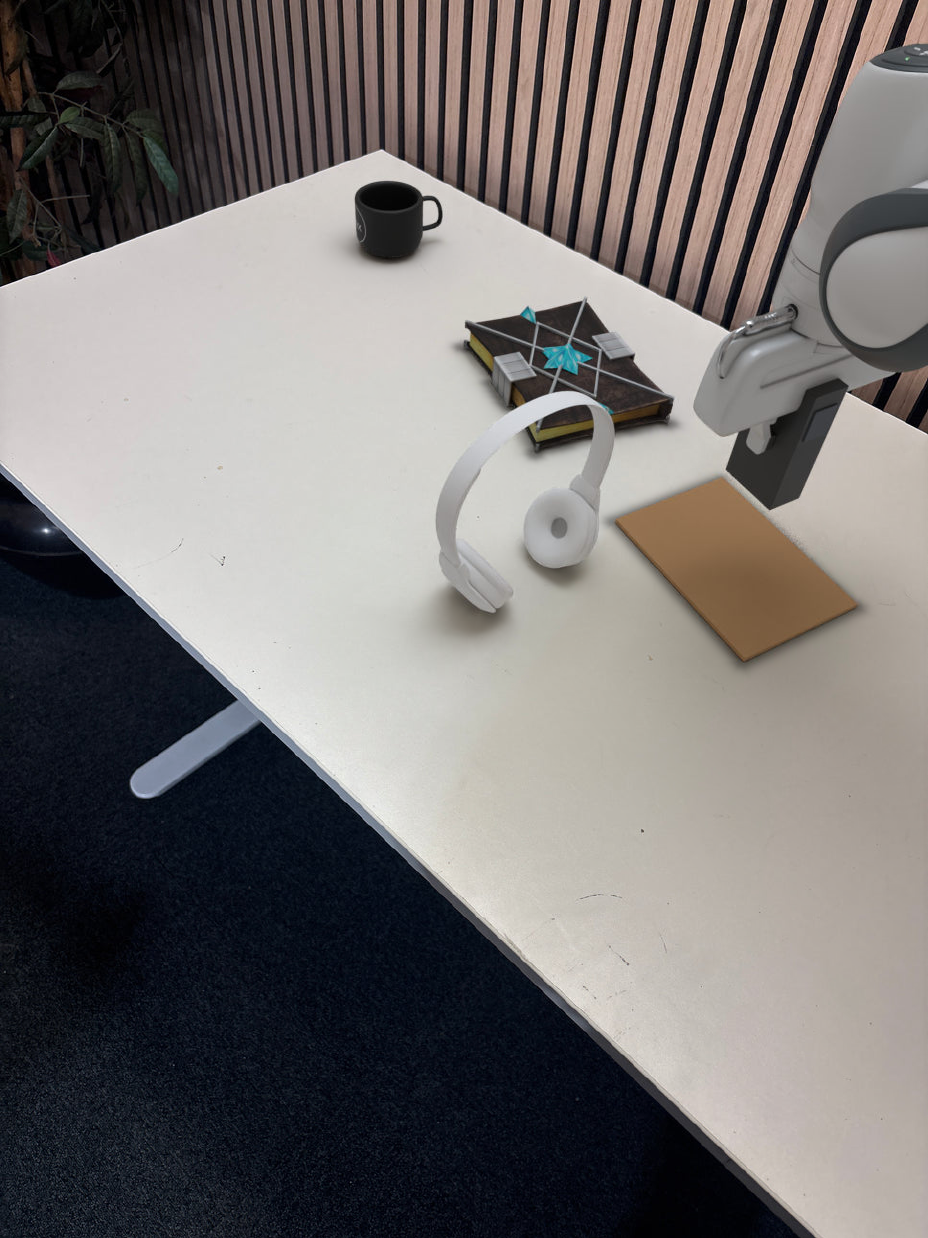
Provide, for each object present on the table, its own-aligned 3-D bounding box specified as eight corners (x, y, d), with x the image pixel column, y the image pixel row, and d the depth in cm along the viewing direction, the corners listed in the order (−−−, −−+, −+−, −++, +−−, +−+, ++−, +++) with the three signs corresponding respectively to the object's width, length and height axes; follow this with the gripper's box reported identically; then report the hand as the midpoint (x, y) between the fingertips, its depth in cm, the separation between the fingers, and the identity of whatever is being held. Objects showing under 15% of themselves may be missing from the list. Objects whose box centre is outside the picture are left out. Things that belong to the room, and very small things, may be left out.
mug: (366, 268, 122) (364, 216, 116) (349, 235, 127) (346, 183, 121) (452, 256, 124) (453, 205, 119) (432, 224, 130) (432, 173, 124)
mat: (856, 607, 87) (858, 604, 86) (743, 662, 82) (745, 658, 82) (721, 480, 98) (722, 476, 97) (614, 522, 93) (615, 518, 92)
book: (670, 423, 103) (679, 386, 99) (535, 455, 99) (540, 418, 95) (583, 320, 116) (589, 284, 112) (460, 345, 111) (462, 308, 107)
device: (800, 499, 81) (850, 386, 71) (770, 511, 79) (817, 399, 70) (754, 458, 84) (796, 345, 75) (725, 469, 83) (764, 356, 74)
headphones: (610, 559, 89) (651, 390, 74) (464, 647, 82) (475, 478, 66) (561, 517, 93) (591, 347, 77) (416, 598, 85) (416, 427, 70)
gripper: (759, 350, 62) (708, 500, 73) (965, 281, 69) (891, 427, 80) (701, 303, 65) (660, 453, 76) (903, 242, 72) (840, 387, 83)
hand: (780, 439), depth 78 cm, fingers closed on device, 3 cm apart
